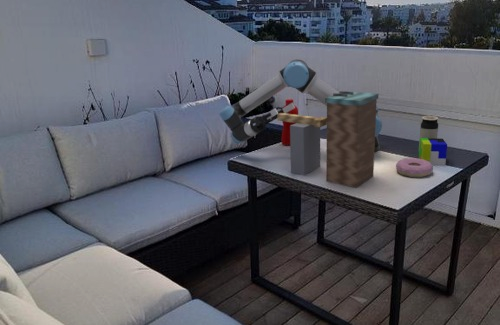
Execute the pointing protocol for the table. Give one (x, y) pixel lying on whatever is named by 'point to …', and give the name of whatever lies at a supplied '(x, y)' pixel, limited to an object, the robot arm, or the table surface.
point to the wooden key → (302, 119)
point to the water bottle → (288, 124)
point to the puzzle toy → (433, 150)
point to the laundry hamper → (350, 137)
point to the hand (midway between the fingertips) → (285, 108)
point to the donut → (414, 167)
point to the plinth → (304, 148)
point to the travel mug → (429, 127)
